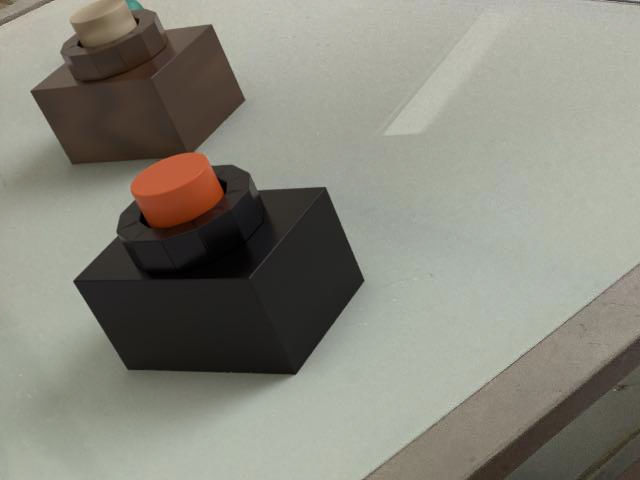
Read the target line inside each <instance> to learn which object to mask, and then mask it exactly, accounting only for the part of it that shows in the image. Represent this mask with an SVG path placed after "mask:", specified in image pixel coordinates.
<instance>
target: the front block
mask: <svg viewBox="0 0 640 480" xmlns="http://www.w3.org/2000/svg"><path fill="white" fill-rule="evenodd" d="M211 167H212V169H213V171H214V173H215V175H216V177H217V179H218V181H219V183H220V185H221V187H222V189H223V192H224V196H223V197H222V198H221V200H220V201H219V202H218V203H217V204H216V205H215V206H214V207H213V208H211V209H210V210H208V211H206V212H205V213H203V214H201V215H199V216H198V217H196V218H194V219H193V220H191V221H188V222H185V223H181V224H178V225H175V226H172V227H167V228H151V227H150V226H149V224H148V222H147V221H146V219H145V217H144V215H143V213H142V211H141V210H140V208H139V206H138V204H137V202H136V200H135V199H134V200H133V201H132V202H131V203H130V204H129V205H128V206H126V208H125V209H124V210H123V211H122V212H121V213H120V214H119V217H118V221H117V226H116V230H115V232H116V233H115V234H116V235H117V236H116V237H115V238H114V239H113V240H112V241H111V242H110V243H108V245H107V246H106V247H105V248H104V249H102V250H101V252H100V253H99V254H98V255H97V256H96V257H95V258H94V259H93V260H92V261H90V263H89V264H88V265H87V266H86V267H85V268H83V270H82V271H81V272H80V273H79V274H78V275H77V276H76V277H75V278H74V279H73V280H72V283H73V285H74V286H75V287H76V289H77V291H78V292H79V294H80V295H81V297H82V299H83V300H84V302H85V303H86V306H87V307H88V308H89V310H90V312H91V313H92V315H93V316H94V318H95V320H96V322H97V323H98V325H99V326H100V328H101V329H102V331H103V332H104V335H105V336H106V338H107V339H108V340H109V342H110V344H111V346H112V347H113V348H114V350H115V352H116V353H117V355H118V357H119V358H120V360H121V361H122V363H123V365H124V366H125V368H126V370H128V371H154V370H155V371H159V372H191V373H192V372H193V373H222V372H225V374H255V375H257V374H258V375H259V374H260V375H291V376H292V375H294V376H295V375H298V373H299V372H300V370H301V369H302V367H303V366H304V365H305V363H306V362H307V361H308V359H309V358H310V357H311V355H312V354H313V352H314V351H315V350H316V348H317V347H318V346H319V345H320V343H321V341H322V340H323V339H324V337H325V336H326V334H327V333H328V332H329V330H330V329H331V328H332V327H333V325H334V324H335V322H336V321H337V319H338V318H339V317H340V316H341V314H342V313H343V311H344V310H345V309H346V307H347V306H348V305H349V303H350V302H351V300H352V299H353V298H354V296H355V295H356V293H357V292H358V291H359V289H360V288H361V287H362V285H363V284H364V282H365V277H364V275H363V272H362V270H361V269H360V266H359V263H358V261H357V258H356V256H355V253H354V251H353V248H352V246H351V244H350V242H349V239H348V237H347V234H346V232H345V229H344V227H343V225H342V222H341V220H340V218H339V214H338V213H337V210H336V208H335V206H334V203H333V200H332V198H331V195H330V193H329V190H328V189H327V187H326V186H311V187H293V188H273V189H258V188H257V186H256V184H255V181H254V179H253V177H252V175H251V173H250V172H248V171H246V170H245V169H244V168H243V169H242V168H241V167H238V166H237V165H234V164H231V163H230V164H218V165H217V164H216V165H215V164H214V165H211ZM229 372H230V373H229ZM231 372H232V373H231Z"/></svg>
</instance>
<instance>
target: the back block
mask: <svg viewBox="0 0 640 480" xmlns="http://www.w3.org/2000/svg"><path fill="white" fill-rule="evenodd" d="M131 13H132V15H133V17H134V19H135V22H136V24H137V26H136V27H135V28H134V29H133V30H132V31H130V32H129V33H127V34H126V35H124V36H122V37H120V38H118V39H116V40H114V41H111V42H108V43H105V44H102V45H99V46H96V47H88V48H83V46H82V44H81V42H80V40H79V39H78V37H77V35H76V33H74V34H73V35H71V37H69V38H68V39H67V40H65V41H64V42H63V44H62V46H61V48H60V50H59V51H60V52H59V54H60V55H61V57H62V59H63V61H64V63H63V64H61V65H60V66H59V67H58V68H57V69H55V70H54V71H53V72H51V73H50V74H49V75H48V76H47V77H46V78H44V79H43V80H42V81H40V82H39V83H38V84H36V85H35V86H34V87H33V88H32V89H30V91H29V92H30V94H31V96H32V97H33V99H34V101H35V103H36V104H37V106H38V108H39V110H40V111H41V113H42V115H43V117H44V119H45V120H46V122H47V124H48V125H49V128H50V129H51V130H52V132H53V134H54V136H55V137H56V139H57V141H58V142H59V145H60V146H61V148H62V150H63V152H64V153H65V155H66V157H67V158H68V160H69V161H70V164H71V165H83V164H84V165H85V164H98V163H99V164H100V163H114V162H128V161H129V162H130V161H144V160H159V159H160V160H161V159H166V158H168V157H171V156H175V155H179V154H183V153H195V151H197V150H198V149H199V148H200V146H202V145H203V143H204V142H206V140H207V139H209V137H210V136H212V134H214V132H215V131H216V130H218V128H220V127H221V125H222V124H224V122H225V121H227V119H228V118H230V117H231V116H232V115H233V114H234V112H236V111H237V109H239V107H240V106H241V105H243V103H245V102H246V98H245V95H244V93H243V91H242V89H241V87H240V84H239V82H238V79H237V78H236V75H235V73H234V71H233V68H232V66H231V64H230V61H229V59H228V57H227V55H226V52H225V50H224V48H223V46H222V43H221V41H220V39H219V36H218V35H217V32H216V30H215V28H214V25H213V24H212V23H209V24H201V25H193V26H185V27H184V26H183V27H177V28H169V29H165V28H164V26H163V24H162V21H161V19H160V17H159V16H158V13H157V12H156V11H153V10H150V9H148V8H144V9H139V10H132V11H131Z"/></svg>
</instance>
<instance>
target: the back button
mask: <svg viewBox="0 0 640 480" xmlns="http://www.w3.org/2000/svg"><path fill="white" fill-rule="evenodd" d="M68 20H69V21H68V22H69V24H70V25H71V28H72V29H73V32H74V34H76V35H77V37H78V39H79V40H80V42H81V44H82V46H83V48H88V47H96V46H99V45H102V44H105V43H108V42H111V41H114V40H116V39H118V38H120V37H122V36H124V35H126V34H127V33H129V32H130V31H132V30H133V29H134V28H135V27H136V26H137V24H136V22H135V19H134V17H133V15H132V13H131V11H130V9H129V7H128V5H127V3H126V1H125V0H96V1H94V2H92V3H89V4H87V5H85V6H83V7H81V8H80V9H78V10H77V11H76V12H74V13H73V14H72V15H71V16H70V17H69V19H68Z"/></svg>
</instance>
